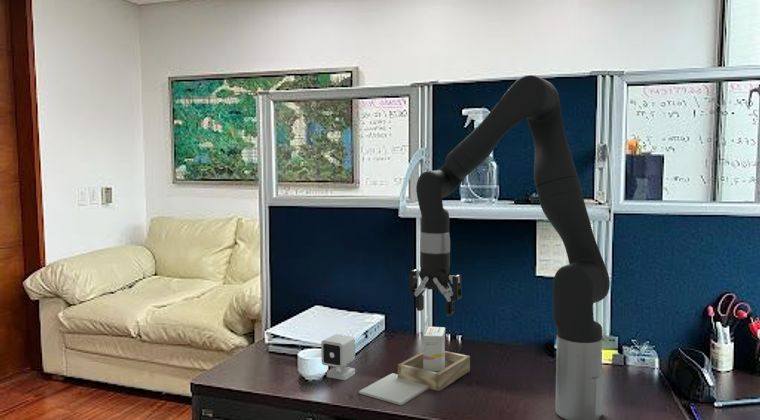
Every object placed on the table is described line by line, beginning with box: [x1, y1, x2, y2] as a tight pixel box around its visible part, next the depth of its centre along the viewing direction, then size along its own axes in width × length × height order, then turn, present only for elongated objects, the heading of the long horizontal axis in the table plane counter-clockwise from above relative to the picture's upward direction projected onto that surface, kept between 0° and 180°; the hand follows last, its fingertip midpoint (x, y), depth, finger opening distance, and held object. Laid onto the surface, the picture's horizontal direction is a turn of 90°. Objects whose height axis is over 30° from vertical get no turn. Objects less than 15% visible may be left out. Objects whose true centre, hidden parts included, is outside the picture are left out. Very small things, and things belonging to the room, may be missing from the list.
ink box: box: [422, 315, 446, 373], centre depth 150 cm, size 9×5×15 cm, turn 168°
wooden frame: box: [397, 350, 471, 392], centre depth 150 cm, size 12×16×4 cm
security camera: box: [320, 333, 356, 381], centre depth 150 cm, size 6×7×10 cm
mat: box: [358, 372, 430, 406], centre depth 142 cm, size 12×14×1 cm
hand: (434, 312), depth 149 cm, fingers open, 8 cm apart
